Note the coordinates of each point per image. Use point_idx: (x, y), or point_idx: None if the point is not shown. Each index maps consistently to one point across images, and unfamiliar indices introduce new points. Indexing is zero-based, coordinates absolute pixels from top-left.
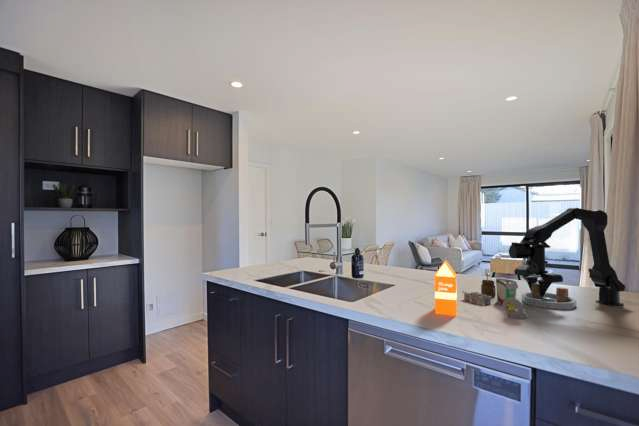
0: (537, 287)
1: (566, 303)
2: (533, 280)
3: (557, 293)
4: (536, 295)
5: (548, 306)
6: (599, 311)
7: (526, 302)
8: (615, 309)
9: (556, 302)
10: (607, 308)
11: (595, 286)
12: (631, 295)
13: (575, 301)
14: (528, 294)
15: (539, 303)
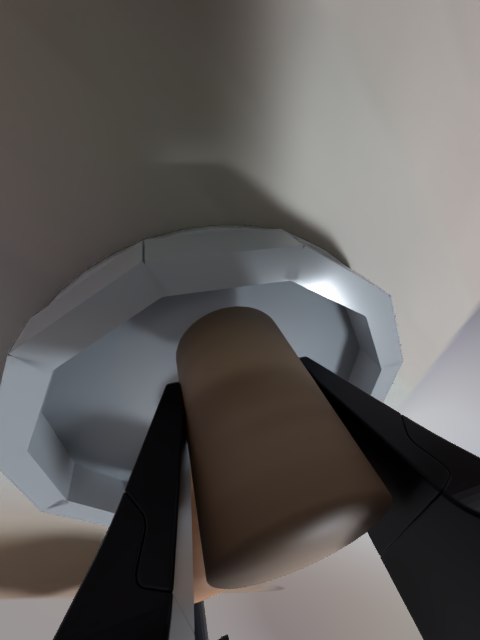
0: (218, 473)
1: (6, 474)
2: (425, 562)
3: (196, 514)
4: (202, 349)
5: (29, 322)
6: (7, 534)
7: (258, 229)
8: (70, 570)
9: (27, 422)
10: (87, 557)
11: (227, 635)
12: (245, 590)
13: (99, 522)
14: (373, 363)
15: (97, 279)
